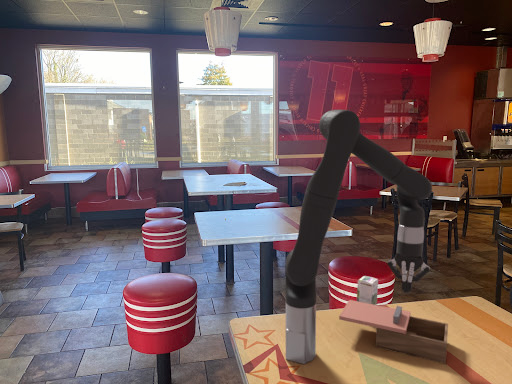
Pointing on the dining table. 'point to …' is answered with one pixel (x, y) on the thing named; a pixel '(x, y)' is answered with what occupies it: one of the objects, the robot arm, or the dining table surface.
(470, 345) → the dining table surface
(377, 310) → the toolbox lid
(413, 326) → the toolbox
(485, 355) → the dining table surface
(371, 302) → the syrup box
